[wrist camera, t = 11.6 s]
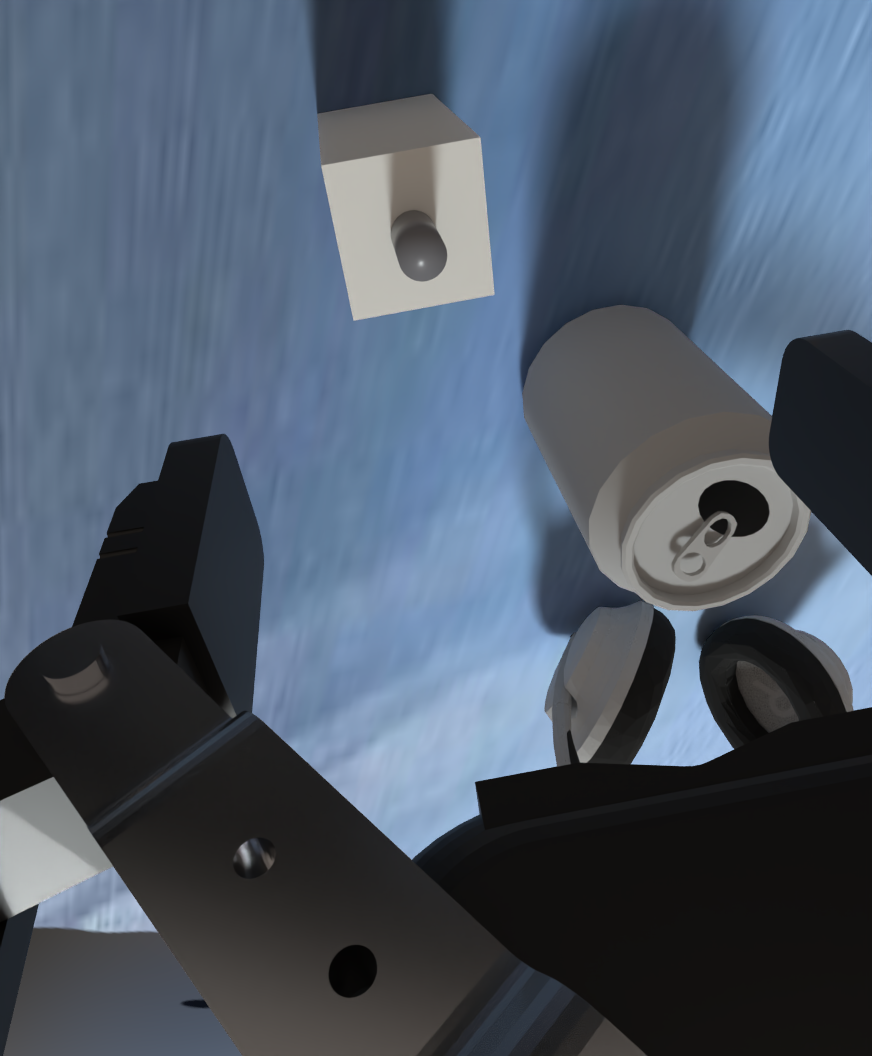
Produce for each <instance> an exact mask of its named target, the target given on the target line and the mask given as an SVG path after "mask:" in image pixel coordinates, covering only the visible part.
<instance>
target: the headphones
mask: <svg viewBox="0 0 872 1056" xmlns="http://www.w3.org/2000/svg"><path fill="white" fill-rule="evenodd" d="M674 653H675V630H674V628H673V627H672V625H671V623H670V621H669V620H668V619H667V617H666V616H665V615H664V614H663V613H661V612H660V611H658V610H656V609H655V608H654V607H653V605H651V604H648V603H646V602H643V601H638V602H635V603H633V604H631V605H628V606H624V607H619V608H609V607H598V608H596V609H595V610H594V611H593V612H592V613H591V614H590V615H589V616H588V617H587V618H586V619H585V620H584V622H583V623H582V624H581V626H580V627H579V629H578V631H577V632H574V633H573V634H572V635H571V638H570V640H569V642H568V644H567V646H566V649H565V651H564V653H563V655H562V658H561V660H560V662H559V664H558V666H557V668H556V670H555V673H554V675H553V678H552V681H551V683H550V686H549V689H548V692H547V696H546V701H545V712H546V714H547V715H548V717H549V718H550V719H551V721H552V722H553V742H554V750H555V756H556V762H557V766H563V765H568V764H573V763H579V762H581V763H607V764H631V763H632V761H633V759H634V758H635V756H636V754H637V753H638V751H639V749H640V748H641V746H642V744H643V742H644V740H645V738H646V736H647V734H648V732H649V730H650V728H651V726H652V724H653V722H654V720H655V717H656V715H657V712H658V709H659V706H660V703H661V700H662V697H663V694H664V692H665V689H666V686H667V683H668V680H669V677H670V673H671V668H672V663H673V658H674ZM699 670H700V681H701V684H702V688H703V692H704V695H705V698H706V702H707V704H708V706H709V709H710V711H711V713H712V715H713V717H714V720H715V721H716V723H717V724H718V726H719V727H720V729H721V730H722V732H723V733H724V735H725V737H726V738H727V740H728V741H729V743H730V744H731V745H732V747H733V748H734V749H736V748H739V747H741V746H743V745H745V744H747V743H749V742H751V741H753V740H755V739H757V738H760V737H762V736H764V735H766V734H768V733H770V732H772V731H774V730H776V729H778V728H781V727H783V726H785V725H787V724H789V723H791V722H797V721H802V720H807V719H813V718H818V717H823V716H828V715H834V714H839V713H844V712H850V711H854V710H853V706H852V702H853V689H852V685H851V682H850V678H849V675H848V672H847V670H846V668H845V667H844V665H843V663H842V661H841V660H840V658H839V657H838V656H837V655H836V654H835V652H834V651H833V650H832V649H831V648H830V647H829V646H828V645H826V644H825V643H824V642H823V641H821V640H820V639H818V638H817V637H815V636H813V635H811V634H808V633H806V632H804V631H799V630H795V629H793V628H792V627H790V626H789V625H787V624H785V623H782V622H780V621H778V620H775V619H772V618H769V617H765V616H758V615H751V616H742V617H739V618H735V619H732V620H730V621H728V622H726V623H724V624H722V625H721V626H720V627H719V628H718V629H717V630H716V631H714V632H713V634H712V635H711V636H710V637H709V638H708V639H707V640H706V642H705V644H704V646H703V647H702V651H701V655H700V660H699Z"/></svg>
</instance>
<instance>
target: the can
mask: <svg viewBox="0 0 872 1056" xmlns="http://www.w3.org/2000/svg"><path fill="white" fill-rule="evenodd" d="M522 395H523V409H524V418H525V420H526V422H527V425H528V427H529V429H530V431H531V433H532V435H533V437H534V439H535V441H536V443H537V445H538V447H539V449H540V451H541V453H542V455H543V457H544V459H545V461H546V463H547V465H548V467H549V469H550V471H551V473H552V475H553V477H554V479H555V481H556V483H557V485H558V487H559V489H560V491H561V493H562V495H563V497H564V499H565V501H566V503H567V505H568V507H569V509H570V511H571V513H572V515H573V517H574V519H575V521H576V523H577V526H578V528H579V530H580V532H581V534H582V536H583V538H584V540H585V542H586V544H587V546H588V548H589V550H590V552H591V554H592V556H593V558H594V560H595V562H596V564H597V566H598V568H599V570H600V571H601V572H602V573H603V574H605V575H606V576H607V577H608V578H609V579H610V580H612V581H613V582H614V583H615V584H616V585H617V586H619V587H621V588H623V589H626V590H629V591H632V592H635V593H636V594H637V595H639V596H640V597H641V598H642V599H643V600H644V601H645V602H647V603H650V604H653V605H655V606H658V607H661V608H664V609H667V610H679V611H697V610H702V609H707V608H712V607H717V606H722V605H725V604H727V603H730V602H732V601H734V600H736V599H739V598H741V597H743V596H746V595H748V594H750V593H751V592H753V591H754V590H756V589H757V588H759V587H760V586H762V585H763V584H764V583H766V582H767V581H769V580H770V579H772V578H773V577H774V576H775V575H776V574H777V573H778V572H779V571H780V570H781V569H782V568H783V567H784V565H785V564H786V563H787V562H788V561H789V560H790V559H791V558H792V557H793V556H794V554H795V552H796V551H797V549H798V547H799V545H800V543H801V542H802V540H803V538H804V536H805V535H806V533H807V530H808V525H809V520H810V515H811V510H810V509H809V508H808V507H807V506H806V505H805V504H804V503H803V502H802V501H801V500H800V499H799V498H798V497H797V495H796V494H795V493H794V492H793V491H792V490H791V489H790V488H789V487H788V486H787V485H786V484H785V483H784V482H783V480H782V479H781V478H780V477H779V476H778V475H777V473H776V471H775V469H774V467H773V465H772V462H771V458H770V453H769V432H770V427H771V421H772V416H771V415H770V414H769V413H768V412H767V411H766V410H765V409H764V408H763V407H762V406H761V405H759V404H758V403H757V402H756V401H755V400H754V399H753V398H752V397H751V396H750V395H749V394H748V393H747V392H746V391H744V390H743V389H742V388H741V387H740V386H739V385H738V384H737V383H736V382H735V381H734V380H733V379H732V378H731V377H729V376H728V375H727V374H726V373H725V372H724V371H723V370H722V369H721V368H720V367H719V366H718V365H717V364H716V363H715V362H713V361H712V360H711V359H710V358H709V357H708V356H707V355H706V354H705V353H704V352H703V351H702V350H701V349H700V348H698V347H697V346H696V345H695V344H694V343H693V342H692V341H691V340H690V339H689V338H688V337H687V336H686V335H685V334H683V333H682V332H681V331H680V330H679V329H678V328H677V327H676V326H675V325H674V324H673V323H672V322H671V321H670V320H668V319H666V318H664V317H663V316H661V315H659V314H657V313H655V312H653V311H652V310H650V309H648V308H642V307H635V306H628V305H616V306H611V307H605V308H600V309H595V310H591V311H589V312H587V313H586V314H584V315H582V316H580V317H578V318H576V319H574V320H572V321H570V322H568V323H566V324H565V325H564V326H563V327H562V328H561V329H559V330H558V331H557V332H556V333H555V334H554V335H553V336H552V337H551V338H550V339H549V340H547V341H546V342H545V343H544V344H543V346H542V348H541V349H540V351H539V353H538V354H537V356H536V357H535V359H534V361H533V362H532V364H531V366H530V367H529V370H528V374H527V378H526V381H525V385H524V389H523V393H522Z"/></svg>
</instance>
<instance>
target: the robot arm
mask: <svg viewBox="0 0 872 1056" xmlns="http://www.w3.org/2000/svg"><path fill="white" fill-rule="evenodd" d="M769 453H770V458H771V462H772V465H773V467H774V469H775V471H776V473H777V475H778V476H779V477H780V478H781V479H782V480H783V482H784V483H785V484H786V485H787V486H788V487H789V488H790V489H791V490H792V491H793V492H794V493H795V494H796V495H797V497H798V498H799V499H800V500H801V501H802V502H803V503H804V504H805V505H806V506H807V507H808V508H809V509H810V510H811V511H812V513H813V514H814V515H815V516H816V517H817V518H818V519H819V520H820V521H821V522H822V523H823V524H824V525H825V526H826V527H827V529H828V530H829V531H830V532H831V533H832V534H833V535H834V536H835V537H836V538H837V539H838V540H839V541H840V542H841V543H842V545H843V546H844V547H845V548H846V549H847V550H848V551H849V552H850V553H851V554H852V555H853V556H854V557H855V558H856V559H857V561H858V562H859V563H860V564H861V565H862V566H863V567H864V568H865V569H866V570H867V571H868V572H869V573H870V574H871V575H872V343H871V342H870V341H868V340H867V339H865V338H864V337H862V336H860V335H859V334H857V333H856V332H854V331H851V330H844V331H838V332H832V333H826V334H820V335H814V336H808V337H802V338H797V339H794V340H792V341H791V342H790V343H789V344H788V346H787V347H786V349H785V352H784V354H783V358H782V364H781V369H780V375H779V381H778V386H777V392H776V398H775V404H774V409H773V415H772V421H771V427H770V432H769ZM107 535H108V538H105V539H104V542H103V545H102V547H101V550H100V553H99V555H100V559H97V561H96V564H95V566H94V569H93V572H92V574H91V577H90V580H89V582H88V585H87V588H86V591H85V593H84V596H83V599H82V601H81V604H80V607H79V610H78V612H77V615H76V618H75V620H74V623H73V626H72V627H71V628H69V629H66V630H64V631H62V632H60V633H58V634H56V635H54V636H52V637H50V638H49V639H47V640H46V641H44V642H43V643H41V644H40V645H39V646H37V647H36V648H35V649H34V650H32V651H31V652H30V653H29V654H28V655H27V656H26V657H25V658H24V659H23V660H22V661H21V662H20V663H19V665H18V666H17V667H16V668H15V670H14V671H13V673H12V675H11V676H10V678H9V680H8V683H7V686H6V689H5V696H4V697H5V698H4V699H2V700H0V1056H3V1053H4V1049H5V1045H6V1041H7V1037H8V1032H9V1028H10V1024H11V1020H12V1015H13V1011H14V1007H15V1003H16V998H17V994H18V990H19V985H20V981H21V977H22V972H23V968H24V964H25V960H26V956H27V951H28V947H29V943H30V939H31V935H32V930H33V926H34V922H35V918H36V913H37V909H38V905H39V903H41V902H43V901H45V900H47V899H49V898H51V897H53V896H55V895H57V894H59V893H61V892H63V891H65V890H67V889H69V888H71V887H73V886H75V885H77V884H79V883H81V882H83V881H85V880H87V879H89V878H91V877H93V876H95V875H97V874H99V873H101V872H103V871H105V870H107V869H109V868H111V867H114V868H115V870H116V871H117V873H118V874H119V876H120V877H121V878H122V880H123V881H124V883H125V884H126V886H127V887H128V889H129V890H130V892H131V893H132V895H133V896H134V897H135V899H136V900H137V902H138V903H139V905H140V906H141V908H142V909H143V911H144V912H145V914H146V915H147V917H148V918H149V919H150V921H151V922H152V924H153V925H154V927H155V928H156V930H157V931H158V933H159V934H160V936H161V937H162V938H163V940H164V941H165V943H166V944H167V946H168V947H169V949H170V950H171V952H172V953H173V955H174V956H175V958H176V959H177V960H178V962H179V963H180V965H181V966H182V967H183V969H184V971H185V972H186V974H187V975H188V977H189V978H190V979H191V981H192V982H193V984H194V985H195V987H196V988H197V990H198V991H199V993H200V994H201V996H202V997H203V999H204V1000H205V1001H206V1003H207V1004H208V1006H209V1007H210V1009H211V1010H212V1012H213V1013H214V1015H215V1016H216V1018H217V1019H218V1020H219V1022H220V1023H221V1025H222V1026H223V1028H224V1029H225V1031H226V1032H227V1034H228V1035H229V1037H230V1038H231V1039H232V1041H233V1042H234V1044H235V1045H236V1047H237V1048H238V1050H239V1051H240V1053H241V1054H242V1056H872V707H871V708H866V709H860V710H855V711H850V712H844V713H839V714H834V715H828V716H823V717H818V718H813V719H807V720H802V721H797V722H791V723H789V724H787V725H785V726H783V727H781V728H778V729H776V730H774V731H772V732H770V733H768V734H766V735H764V736H762V737H760V738H757V739H755V740H753V741H751V742H749V743H747V744H745V745H743V746H741V747H739V748H736V749H734V750H732V751H730V752H728V753H726V754H724V755H722V756H720V757H717V758H715V759H713V760H711V761H709V762H707V763H704V764H701V765H697V766H659V765H633V764H607V763H581V762H579V763H573V764H568V765H563V766H557V767H552V768H547V769H541V770H536V771H531V772H526V773H520V774H515V775H510V776H504V777H499V778H494V779H488V780H483V781H478V782H475V785H476V792H477V799H478V806H479V813H480V815H478V816H476V817H474V818H472V819H470V820H468V821H466V822H464V823H462V824H460V825H458V826H456V827H455V828H453V829H452V830H450V831H448V832H447V833H445V834H444V835H442V836H441V837H439V838H437V839H436V840H435V841H434V842H432V843H431V844H430V845H429V846H427V847H426V848H425V849H424V850H422V851H421V852H420V853H419V854H418V855H416V856H415V857H414V858H413V859H412V860H411V859H410V858H409V857H408V856H407V855H406V854H405V853H404V852H403V851H401V850H400V849H399V848H398V847H397V846H396V845H395V844H394V843H393V842H392V841H391V840H390V839H389V838H387V837H386V836H385V835H384V834H383V833H382V832H381V831H380V830H379V829H378V828H377V827H376V826H375V825H374V824H372V823H371V822H370V821H369V820H368V819H367V818H366V817H365V816H364V815H363V814H362V813H361V812H360V811H359V810H357V809H356V808H355V807H354V806H353V805H352V804H351V803H350V802H349V801H348V800H347V799H346V798H345V797H343V796H342V795H341V794H340V793H339V792H338V791H337V790H336V789H335V788H334V787H333V786H332V785H331V784H330V783H328V782H327V781H326V780H325V779H324V778H323V777H322V776H321V775H320V774H319V773H318V772H317V771H316V770H314V769H313V768H312V767H311V766H310V765H309V764H308V763H307V762H306V761H305V760H304V759H303V758H302V757H301V756H299V755H298V754H297V753H296V752H295V751H294V750H293V749H292V748H291V747H290V746H289V745H288V744H287V743H286V742H284V741H283V740H282V739H281V738H280V737H279V736H278V735H277V734H276V733H275V732H274V731H273V730H272V729H270V728H269V727H268V726H267V725H266V724H265V723H264V722H263V721H262V720H261V719H259V718H258V717H257V716H255V715H254V714H252V706H253V694H254V681H255V669H256V657H257V644H258V632H259V620H260V607H261V595H262V583H263V570H264V554H263V546H262V540H261V535H260V530H259V526H258V523H257V520H256V517H255V513H254V510H253V507H252V504H251V501H250V498H249V495H248V492H247V489H246V486H245V483H244V480H243V477H242V474H241V470H240V467H239V464H238V461H237V458H236V455H235V452H234V449H233V446H232V444H231V442H230V440H229V438H228V437H227V435H226V434H220V435H214V436H208V437H202V438H196V439H190V440H184V441H178V442H172V443H171V444H170V445H169V447H168V450H167V453H166V457H165V460H164V463H163V466H162V470H161V473H160V476H159V480H158V481H153V482H147V483H141V484H139V485H138V486H137V487H136V488H135V489H134V490H133V491H132V492H131V493H130V494H129V495H128V496H127V497H126V498H125V499H124V500H123V501H122V502H121V503H120V504H119V505H118V506H117V507H116V509H115V512H114V515H113V517H112V520H111V523H110V526H109V528H108V531H107Z"/></svg>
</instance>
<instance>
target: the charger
mask: <svg viewBox="0 0 872 1056" xmlns="http://www.w3.org/2000/svg"><path fill="white" fill-rule="evenodd" d="M317 116H318V129H319V142H320V155H321V167H322V171H323V176H324V181H325V186H326V191H327V195H328V200H329V205H330V210H331V214H332V219H333V224H334V229H335V233H336V238H337V243H338V248H339V253H340V257H341V262H342V267H343V272H344V276H345V281H346V286H347V291H348V296H349V300H350V305H351V310H352V315H353V319H354V321H355V320H360V319H365V318H371V317H376V316H382V315H387V314H393V313H398V312H403V311H409V310H414V309H420V308H425V307H431V306H436V305H441V304H447V303H452V302H458V301H463V300H469V299H474V298H479V297H485V296H490V295H494V284H493V273H492V262H491V251H490V239H489V228H488V217H487V206H486V195H485V184H484V172H483V161H482V150H481V139H480V137H479V136H478V135H477V134H476V133H475V132H474V131H473V130H472V129H471V128H470V127H468V126H467V125H466V124H465V123H464V122H463V121H462V120H461V119H460V118H458V117H457V116H456V115H455V114H454V113H453V112H452V111H451V110H450V109H449V108H447V107H446V106H445V105H444V104H443V103H442V102H441V101H440V100H439V99H437V98H436V97H435V96H434V95H433V94H426V95H421V96H415V97H409V98H404V99H398V100H392V101H387V102H381V103H375V104H369V105H364V106H358V107H352V108H347V109H341V110H335V111H330V112H324V113H318V114H317Z"/></svg>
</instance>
